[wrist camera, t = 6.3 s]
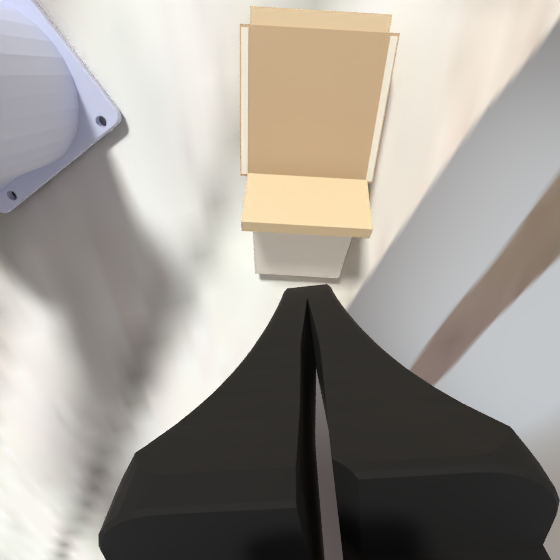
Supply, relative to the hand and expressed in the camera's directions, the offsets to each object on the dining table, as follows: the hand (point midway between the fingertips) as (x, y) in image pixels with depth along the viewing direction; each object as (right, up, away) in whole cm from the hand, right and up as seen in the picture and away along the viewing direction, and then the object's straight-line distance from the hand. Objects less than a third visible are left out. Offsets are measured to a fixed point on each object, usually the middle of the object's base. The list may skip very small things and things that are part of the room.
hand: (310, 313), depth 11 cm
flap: (0, +5, +5) cm, 7 cm away
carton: (+1, +9, +6) cm, 11 cm away
